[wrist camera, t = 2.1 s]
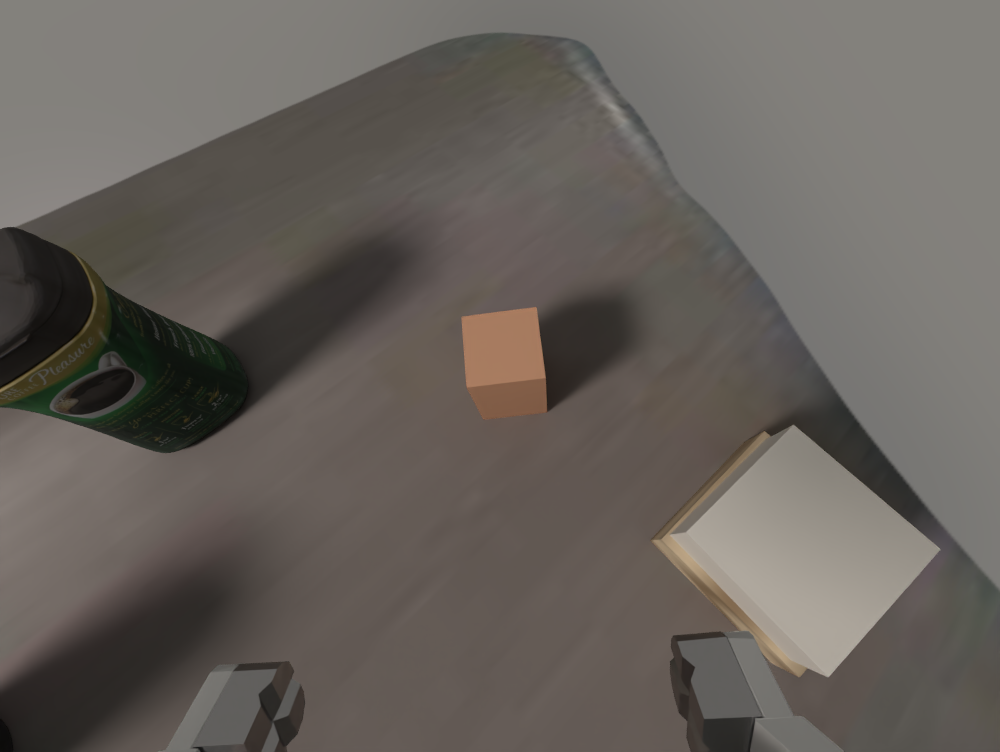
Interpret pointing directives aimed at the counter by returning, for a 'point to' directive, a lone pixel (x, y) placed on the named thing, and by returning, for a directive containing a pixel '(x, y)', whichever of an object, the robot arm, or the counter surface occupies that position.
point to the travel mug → (5, 739)
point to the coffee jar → (105, 354)
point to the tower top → (804, 549)
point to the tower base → (702, 578)
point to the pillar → (505, 363)
